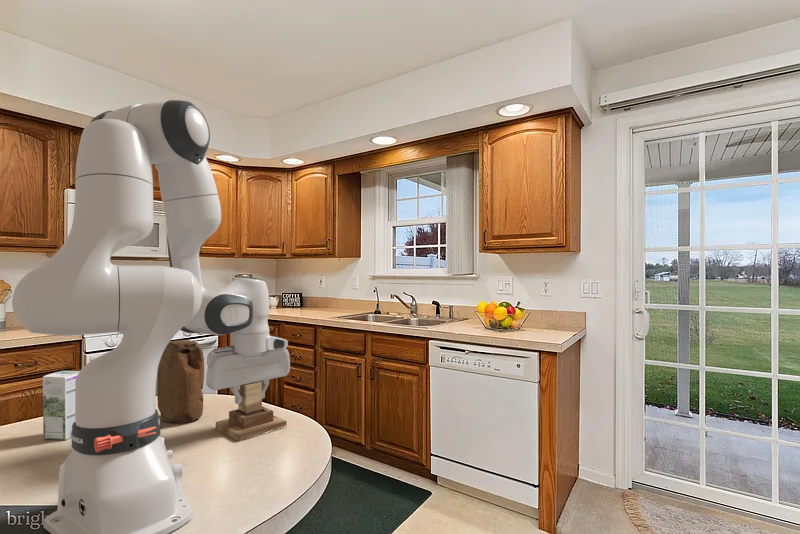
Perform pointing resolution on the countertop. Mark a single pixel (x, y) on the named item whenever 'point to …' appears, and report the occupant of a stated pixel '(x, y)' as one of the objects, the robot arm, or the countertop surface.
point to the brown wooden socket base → (249, 424)
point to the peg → (251, 399)
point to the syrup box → (59, 404)
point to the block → (181, 382)
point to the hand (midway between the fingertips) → (250, 400)
